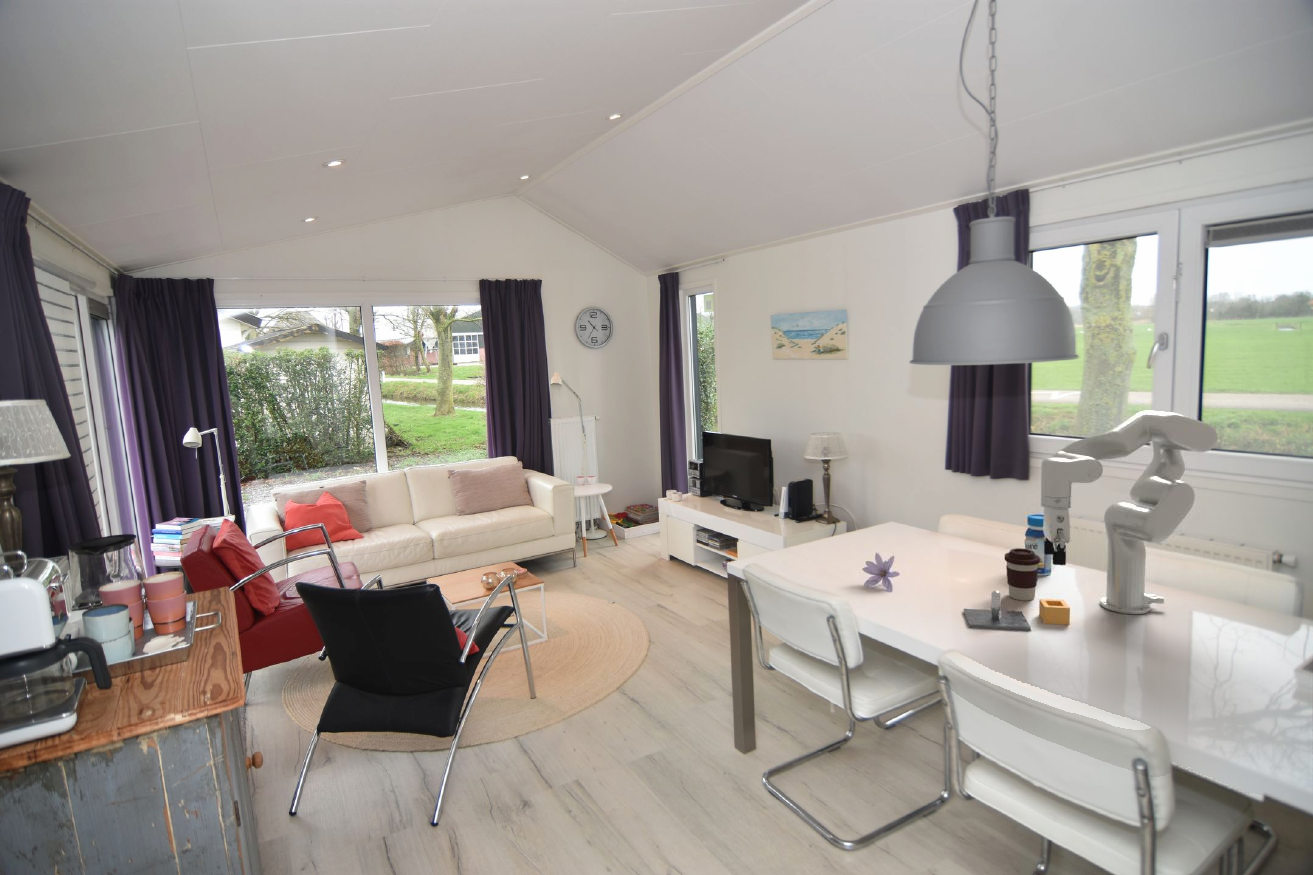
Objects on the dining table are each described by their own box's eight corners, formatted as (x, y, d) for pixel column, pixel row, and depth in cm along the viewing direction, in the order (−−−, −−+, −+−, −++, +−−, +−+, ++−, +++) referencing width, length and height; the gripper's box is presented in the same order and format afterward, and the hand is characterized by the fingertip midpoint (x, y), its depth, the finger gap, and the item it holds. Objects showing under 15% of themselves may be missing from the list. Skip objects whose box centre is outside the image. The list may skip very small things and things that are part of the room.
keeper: (1021, 614, 210) (1021, 584, 209) (1030, 630, 199) (1031, 599, 197) (963, 611, 215) (963, 582, 213) (969, 627, 203) (969, 596, 202)
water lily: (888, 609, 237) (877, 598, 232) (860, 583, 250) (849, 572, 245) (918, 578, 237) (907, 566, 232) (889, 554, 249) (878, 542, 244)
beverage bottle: (1056, 575, 240) (1057, 518, 237) (1031, 576, 240) (1032, 519, 238) (1043, 567, 248) (1044, 512, 246) (1019, 569, 249) (1020, 513, 246)
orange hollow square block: (1063, 616, 207) (1063, 599, 206) (1069, 624, 201) (1069, 607, 200) (1039, 615, 209) (1039, 598, 208) (1044, 623, 203) (1044, 606, 202)
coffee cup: (1044, 602, 218) (1044, 556, 216) (1009, 602, 220) (1009, 555, 218) (1033, 591, 227) (1034, 546, 225) (1000, 591, 229) (1000, 546, 227)
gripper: (1079, 508, 191) (1078, 569, 193) (1062, 494, 208) (1061, 550, 210) (1048, 508, 193) (1047, 568, 195) (1034, 494, 210) (1033, 550, 212)
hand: (1054, 559), depth 203 cm, fingers open, 9 cm apart
